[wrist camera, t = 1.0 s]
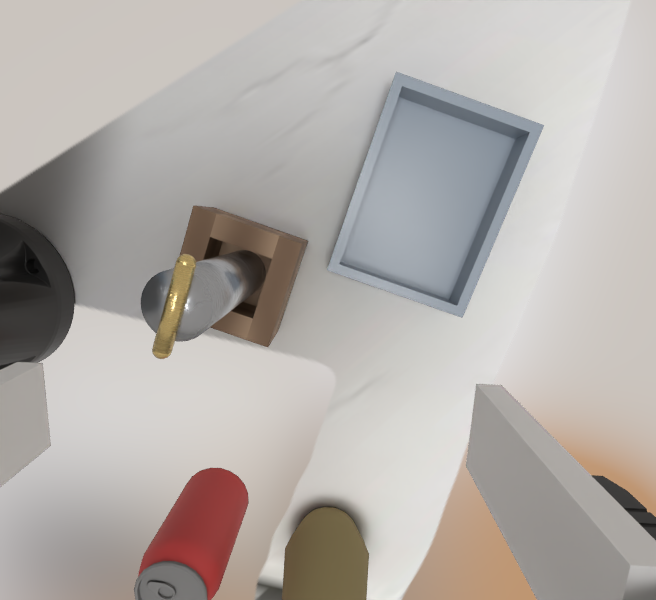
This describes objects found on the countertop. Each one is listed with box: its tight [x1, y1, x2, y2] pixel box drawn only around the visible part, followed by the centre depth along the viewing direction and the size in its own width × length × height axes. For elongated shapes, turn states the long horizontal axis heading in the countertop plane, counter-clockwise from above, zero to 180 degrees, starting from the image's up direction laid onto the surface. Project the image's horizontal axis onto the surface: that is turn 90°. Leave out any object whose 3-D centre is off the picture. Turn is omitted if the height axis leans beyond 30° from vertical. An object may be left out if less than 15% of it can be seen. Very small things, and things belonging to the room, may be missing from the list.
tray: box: [327, 72, 544, 317], centre depth 35 cm, size 12×16×4 cm
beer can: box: [134, 468, 248, 600], centre depth 37 cm, size 7×7×12 cm
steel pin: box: [141, 250, 266, 359], centre depth 30 cm, size 4×6×16 cm, turn 161°
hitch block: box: [180, 206, 308, 347], centre depth 36 cm, size 9×9×5 cm
